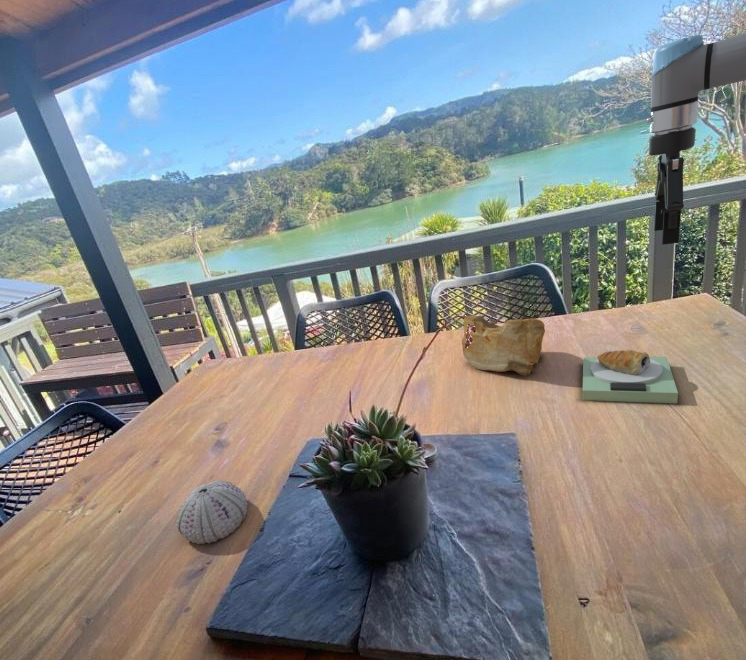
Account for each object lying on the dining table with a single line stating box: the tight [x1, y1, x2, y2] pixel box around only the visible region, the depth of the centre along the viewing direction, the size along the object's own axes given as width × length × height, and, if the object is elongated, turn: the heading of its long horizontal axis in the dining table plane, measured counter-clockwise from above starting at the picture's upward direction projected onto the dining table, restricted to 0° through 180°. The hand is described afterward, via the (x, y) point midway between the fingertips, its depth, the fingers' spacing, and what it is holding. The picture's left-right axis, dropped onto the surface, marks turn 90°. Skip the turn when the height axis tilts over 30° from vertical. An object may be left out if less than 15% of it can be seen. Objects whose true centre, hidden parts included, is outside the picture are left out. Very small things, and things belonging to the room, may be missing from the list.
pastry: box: [596, 349, 651, 375], centre depth 94 cm, size 9×7×4 cm
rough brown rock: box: [461, 314, 546, 377], centre depth 112 cm, size 23×17×15 cm
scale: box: [582, 356, 679, 404], centre depth 94 cm, size 16×16×4 cm
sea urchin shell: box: [175, 480, 248, 545], centre depth 82 cm, size 13×14×8 cm
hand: (665, 236), depth 96 cm, fingers open, 13 cm apart
